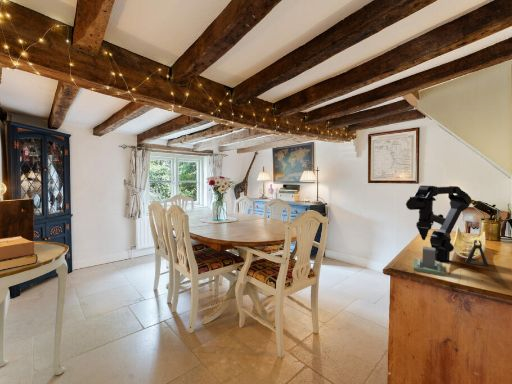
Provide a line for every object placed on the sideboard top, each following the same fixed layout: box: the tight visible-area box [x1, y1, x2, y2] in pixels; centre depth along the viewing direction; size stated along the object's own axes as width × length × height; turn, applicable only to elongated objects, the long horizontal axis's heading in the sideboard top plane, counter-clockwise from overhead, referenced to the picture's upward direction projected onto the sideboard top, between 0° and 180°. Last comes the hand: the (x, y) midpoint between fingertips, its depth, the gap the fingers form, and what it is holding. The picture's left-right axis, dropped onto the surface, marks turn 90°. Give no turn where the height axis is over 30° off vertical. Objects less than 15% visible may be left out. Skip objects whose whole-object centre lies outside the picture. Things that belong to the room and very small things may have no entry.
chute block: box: [421, 245, 436, 269], centre depth 122 cm, size 5×5×9 cm
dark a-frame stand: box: [465, 239, 490, 268], centre depth 130 cm, size 9×6×12 cm, turn 49°
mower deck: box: [413, 258, 445, 277], centre depth 123 cm, size 12×16×3 cm
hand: (424, 238), depth 131 cm, fingers open, 9 cm apart
